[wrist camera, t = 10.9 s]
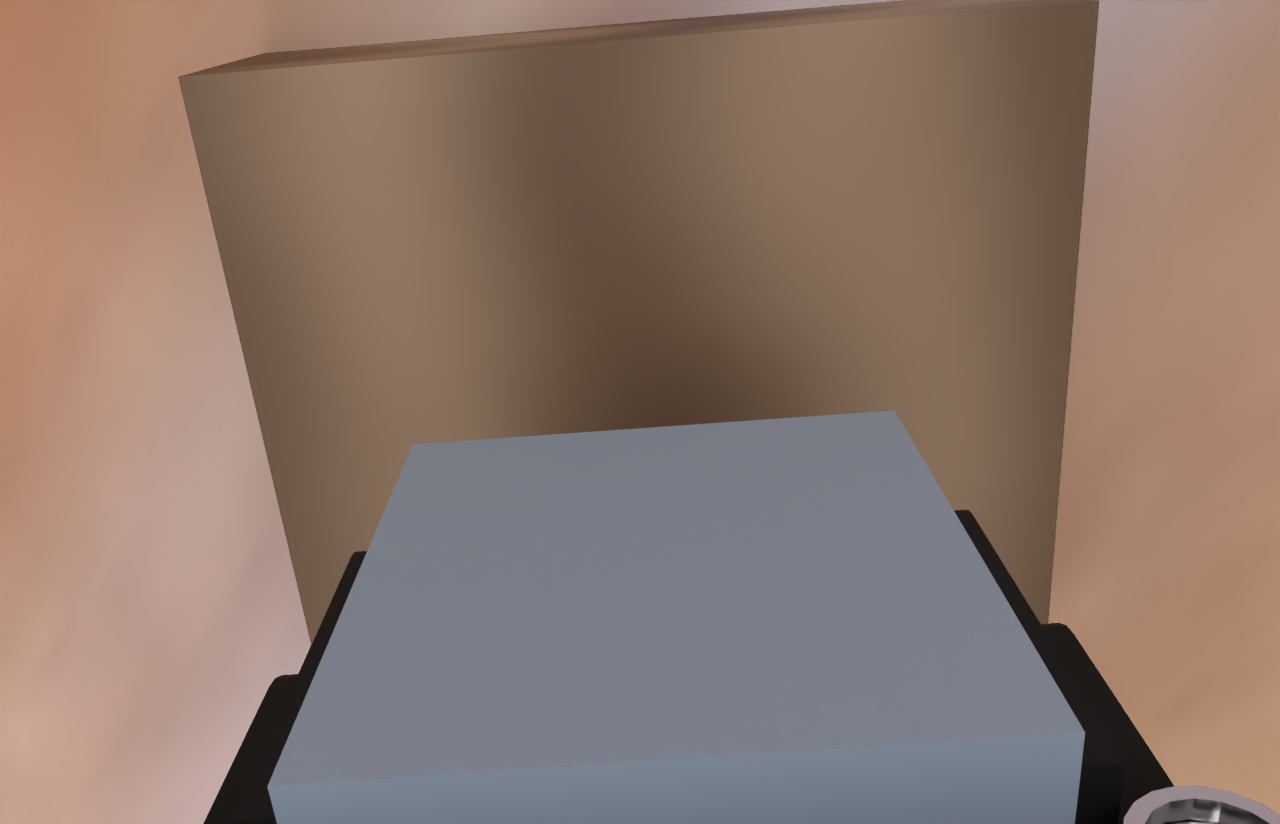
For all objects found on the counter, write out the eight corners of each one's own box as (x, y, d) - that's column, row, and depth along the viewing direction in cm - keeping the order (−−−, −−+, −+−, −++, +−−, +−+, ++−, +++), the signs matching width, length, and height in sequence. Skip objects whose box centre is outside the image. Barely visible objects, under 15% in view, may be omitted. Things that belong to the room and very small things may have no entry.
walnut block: (1000, -9, 18) (1099, 0, 14) (970, 614, 22) (1037, 744, 19) (270, 51, 18) (178, 76, 14) (391, 655, 23) (346, 792, 19)
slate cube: (894, 411, 11) (1084, 733, 7) (885, 789, 13) (1026, 1240, 9) (412, 443, 11) (268, 785, 7) (475, 815, 13) (395, 1277, 9)
